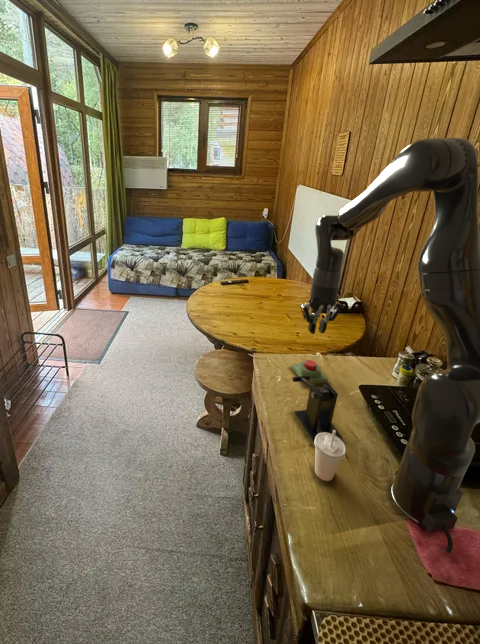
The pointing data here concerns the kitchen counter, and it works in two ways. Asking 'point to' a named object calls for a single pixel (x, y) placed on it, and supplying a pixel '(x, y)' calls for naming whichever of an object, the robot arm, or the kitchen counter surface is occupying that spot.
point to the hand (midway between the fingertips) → (316, 332)
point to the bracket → (318, 412)
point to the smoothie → (328, 454)
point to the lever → (306, 381)
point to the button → (310, 365)
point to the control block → (310, 373)
